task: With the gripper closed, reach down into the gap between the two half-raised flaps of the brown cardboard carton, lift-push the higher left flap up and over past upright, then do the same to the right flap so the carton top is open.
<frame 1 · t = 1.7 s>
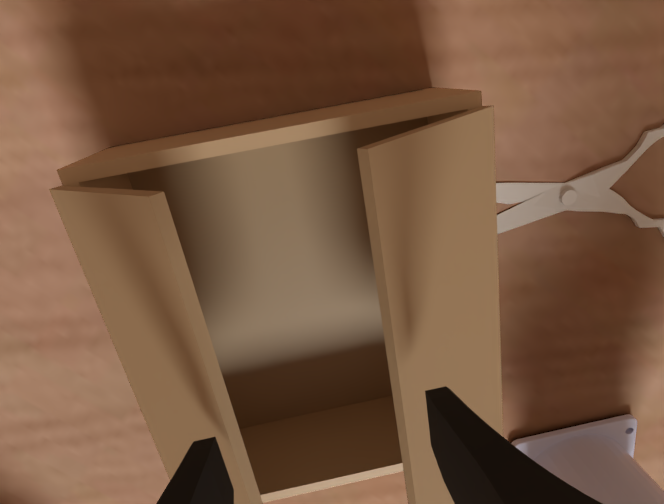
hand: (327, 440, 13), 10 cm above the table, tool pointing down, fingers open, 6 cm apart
scissors: (571, 186, 23), on the table
flap 2: (178, 403, 15), point 7 cm above the table, hinge at 45.0°
carton: (308, 282, 22), on the table
flap 1: (450, 338, 16), point 7 cm above the table, hinge at 35.0°
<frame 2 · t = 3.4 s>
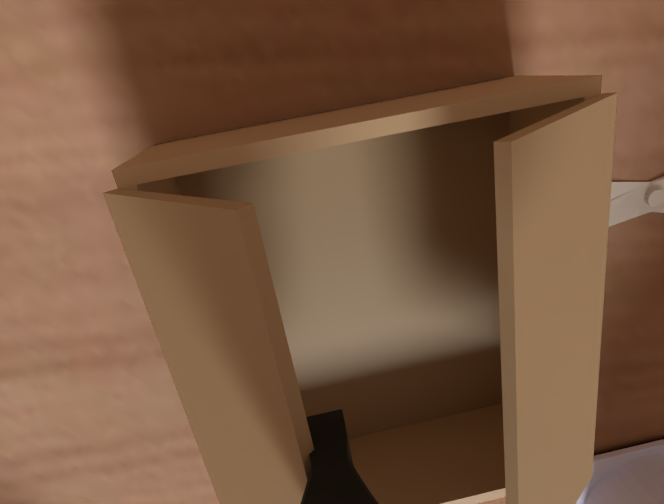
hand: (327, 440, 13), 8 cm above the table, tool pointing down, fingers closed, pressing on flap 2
scissors: (654, 185, 21), on the table
flap 2: (244, 445, 13), point 7 cm above the table, hinge at 49.1°, touching gripper
carton: (368, 293, 20), on the table
flap 1: (558, 361, 14), point 7 cm above the table, hinge at 35.0°
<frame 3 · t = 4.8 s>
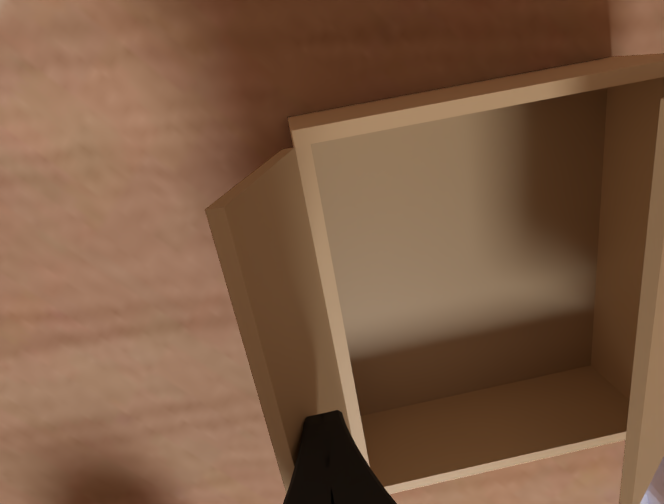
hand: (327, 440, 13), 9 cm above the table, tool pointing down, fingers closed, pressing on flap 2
flap 2: (314, 406, 14), point 8 cm above the table, hinge at 105.4°, touching gripper
carton: (463, 260, 22), on the table
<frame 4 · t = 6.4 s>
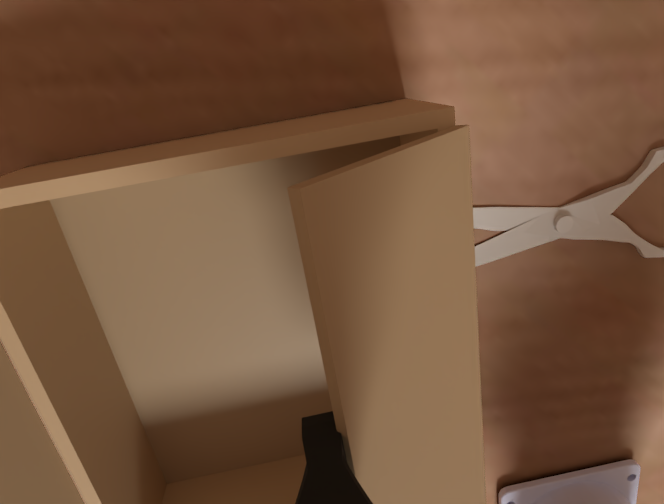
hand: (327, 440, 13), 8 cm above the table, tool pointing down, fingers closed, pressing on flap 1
scissors: (567, 210, 20), on the table
carton: (267, 318, 20), on the table
flap 1: (420, 404, 13), point 7 cm above the table, hinge at 37.1°, touching gripper
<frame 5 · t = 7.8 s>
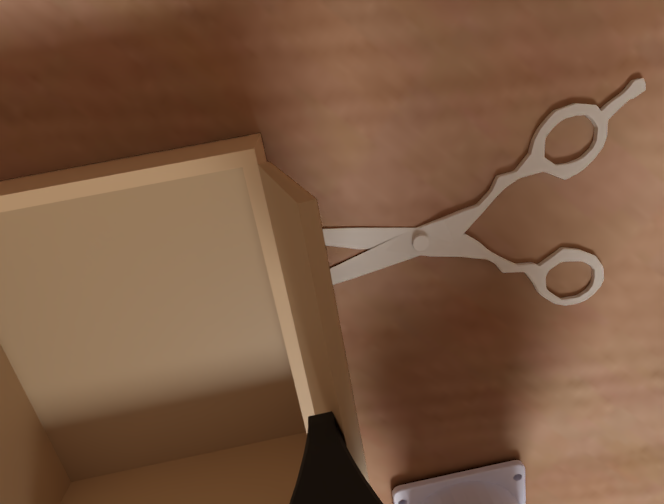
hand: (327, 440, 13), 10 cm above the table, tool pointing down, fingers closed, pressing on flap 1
scissors: (429, 230, 22), on the table
carton: (153, 329, 22), on the table
flap 1: (329, 406, 14), point 8 cm above the table, hinge at 100.5°, touching gripper
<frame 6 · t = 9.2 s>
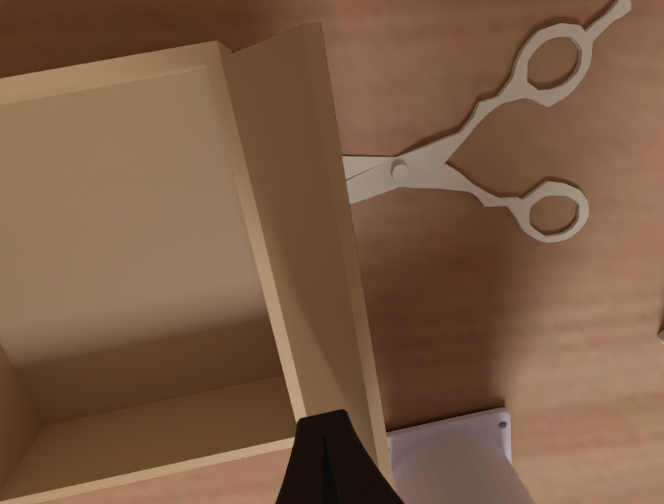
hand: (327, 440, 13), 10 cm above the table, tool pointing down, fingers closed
scissors: (409, 161, 21), on the table
carton: (125, 263, 21), on the table
flap 1: (314, 305, 14), point 8 cm above the table, hinge at 111.8°
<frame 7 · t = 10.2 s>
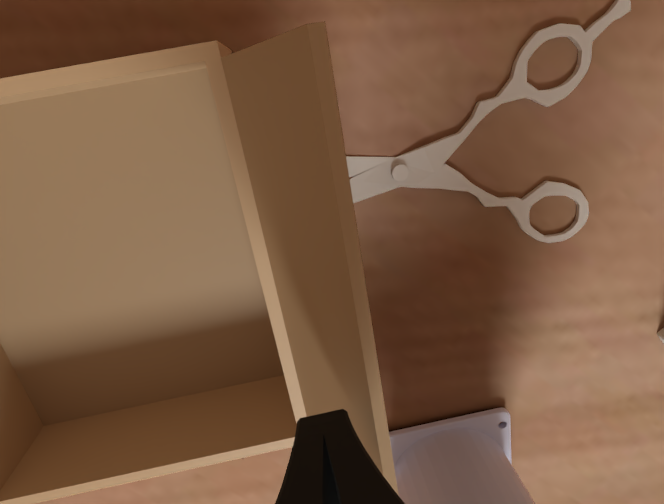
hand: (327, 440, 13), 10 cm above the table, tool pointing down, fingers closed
scissors: (409, 162, 21), on the table
carton: (125, 263, 21), on the table
flap 1: (315, 304, 14), point 8 cm above the table, hinge at 112.7°
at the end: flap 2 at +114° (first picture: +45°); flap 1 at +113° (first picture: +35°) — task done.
